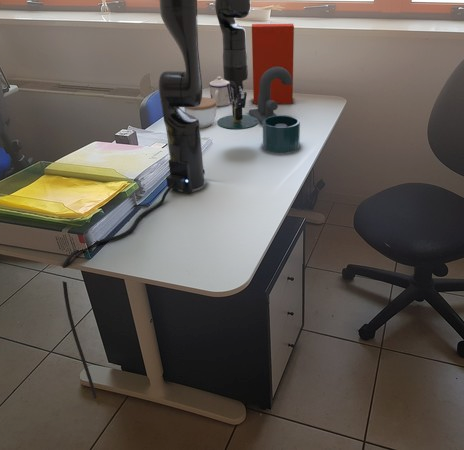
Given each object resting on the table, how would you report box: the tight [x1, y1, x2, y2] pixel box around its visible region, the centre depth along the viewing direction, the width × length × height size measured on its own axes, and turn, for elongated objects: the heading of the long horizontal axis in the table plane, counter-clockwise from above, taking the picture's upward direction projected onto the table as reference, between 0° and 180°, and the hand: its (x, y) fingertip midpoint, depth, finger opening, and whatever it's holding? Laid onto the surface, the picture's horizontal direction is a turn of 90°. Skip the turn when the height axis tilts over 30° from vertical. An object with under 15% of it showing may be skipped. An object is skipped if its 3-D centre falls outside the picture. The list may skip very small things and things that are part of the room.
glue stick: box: [275, 124, 287, 127], centre depth 161 cm, size 4×4×8 cm
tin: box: [262, 114, 301, 154], centre depth 161 cm, size 13×13×10 cm
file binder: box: [251, 23, 295, 105], centre depth 201 cm, size 8×17×32 cm, turn 90°
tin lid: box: [216, 106, 260, 131], centre depth 151 cm, size 14×14×6 cm
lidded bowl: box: [183, 96, 217, 129], centre depth 181 cm, size 13×13×11 cm
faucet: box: [248, 67, 292, 126], centre depth 186 cm, size 18×16×20 cm
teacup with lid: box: [208, 76, 231, 107], centre depth 203 cm, size 12×9×12 cm
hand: (237, 118), depth 152 cm, fingers closed on tin lid, 2 cm apart
